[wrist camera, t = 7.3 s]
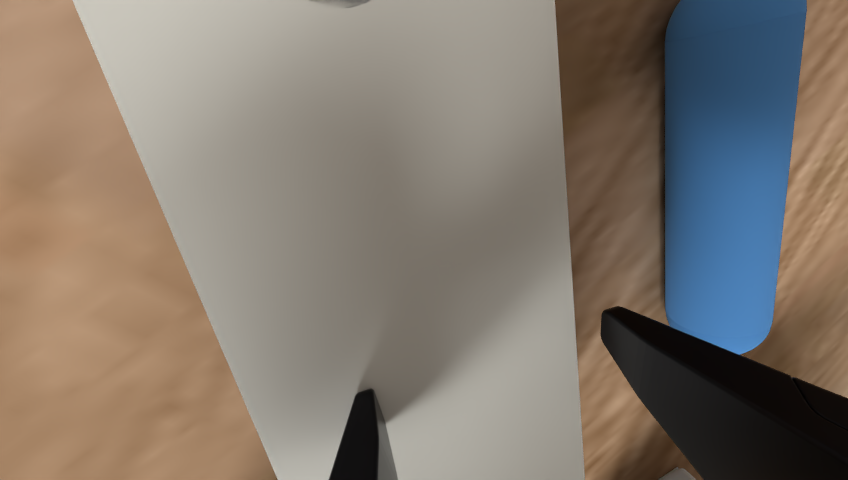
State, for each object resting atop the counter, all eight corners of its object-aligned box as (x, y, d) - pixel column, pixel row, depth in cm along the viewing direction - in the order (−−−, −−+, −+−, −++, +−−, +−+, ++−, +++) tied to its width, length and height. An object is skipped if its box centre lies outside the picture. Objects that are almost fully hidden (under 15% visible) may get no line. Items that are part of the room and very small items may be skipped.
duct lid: (564, 550, 15) (592, 596, 14) (367, 643, 14) (374, 706, 12) (500, -132, 8) (543, -187, 7) (72, -97, 7) (5, -158, 5)
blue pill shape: (708, 314, 21) (792, 355, 18) (646, 339, 21) (720, 387, 17) (723, -27, 16) (849, -70, 12) (639, -10, 15) (746, -50, 11)
